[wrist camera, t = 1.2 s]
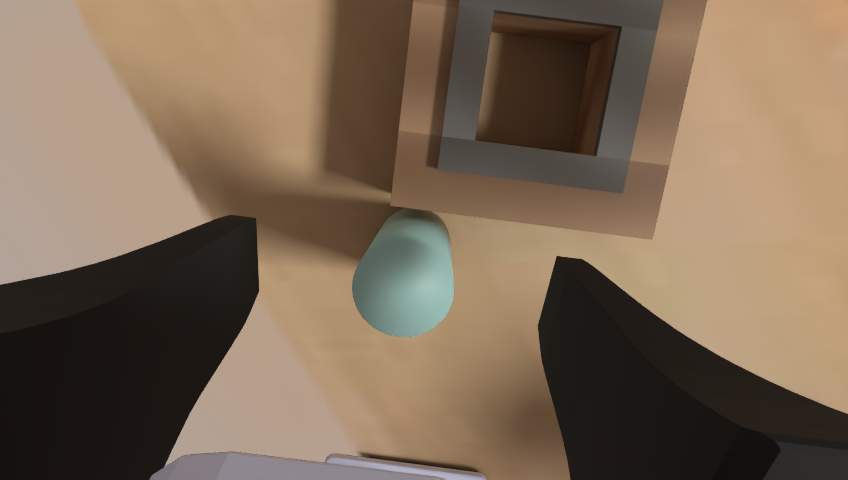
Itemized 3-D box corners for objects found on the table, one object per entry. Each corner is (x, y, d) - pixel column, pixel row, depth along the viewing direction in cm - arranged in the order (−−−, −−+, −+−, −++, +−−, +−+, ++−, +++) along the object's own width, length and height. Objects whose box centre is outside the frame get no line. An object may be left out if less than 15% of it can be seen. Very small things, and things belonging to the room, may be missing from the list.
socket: (622, 224, 22) (656, 241, 19) (397, 195, 22) (388, 207, 19) (674, -21, 20) (724, -54, 17) (426, -53, 20) (422, -92, 17)
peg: (444, 280, 23) (446, 342, 16) (375, 271, 23) (347, 330, 16) (454, 211, 22) (460, 246, 15) (382, 202, 22) (357, 233, 15)
